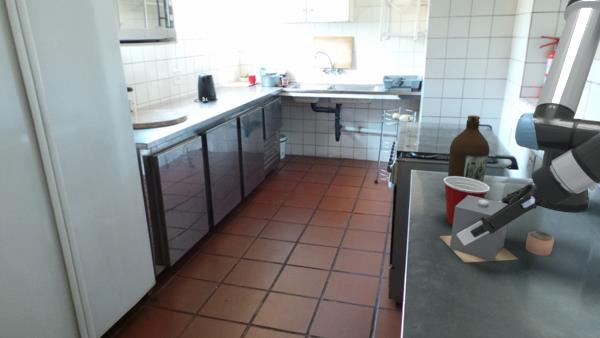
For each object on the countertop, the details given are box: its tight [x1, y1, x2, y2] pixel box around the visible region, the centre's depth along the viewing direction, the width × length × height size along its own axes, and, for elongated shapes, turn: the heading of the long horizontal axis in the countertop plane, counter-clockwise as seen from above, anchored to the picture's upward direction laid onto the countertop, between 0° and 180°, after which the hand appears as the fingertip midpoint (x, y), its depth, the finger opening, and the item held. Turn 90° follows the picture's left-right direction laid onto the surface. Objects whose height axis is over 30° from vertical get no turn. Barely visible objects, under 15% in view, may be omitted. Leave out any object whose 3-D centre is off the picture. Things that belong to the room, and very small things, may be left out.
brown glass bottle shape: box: [447, 114, 490, 183], centre depth 120 cm, size 11×11×25 cm
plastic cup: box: [443, 176, 491, 226], centre depth 103 cm, size 11×11×12 cm
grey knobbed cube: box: [449, 195, 508, 262], centre depth 90 cm, size 9×9×11 cm
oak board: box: [439, 235, 519, 263], centre depth 92 cm, size 12×12×1 cm
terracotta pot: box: [525, 230, 555, 257], centre depth 90 cm, size 5×5×5 cm
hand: (470, 228), depth 91 cm, fingers open, 13 cm apart
